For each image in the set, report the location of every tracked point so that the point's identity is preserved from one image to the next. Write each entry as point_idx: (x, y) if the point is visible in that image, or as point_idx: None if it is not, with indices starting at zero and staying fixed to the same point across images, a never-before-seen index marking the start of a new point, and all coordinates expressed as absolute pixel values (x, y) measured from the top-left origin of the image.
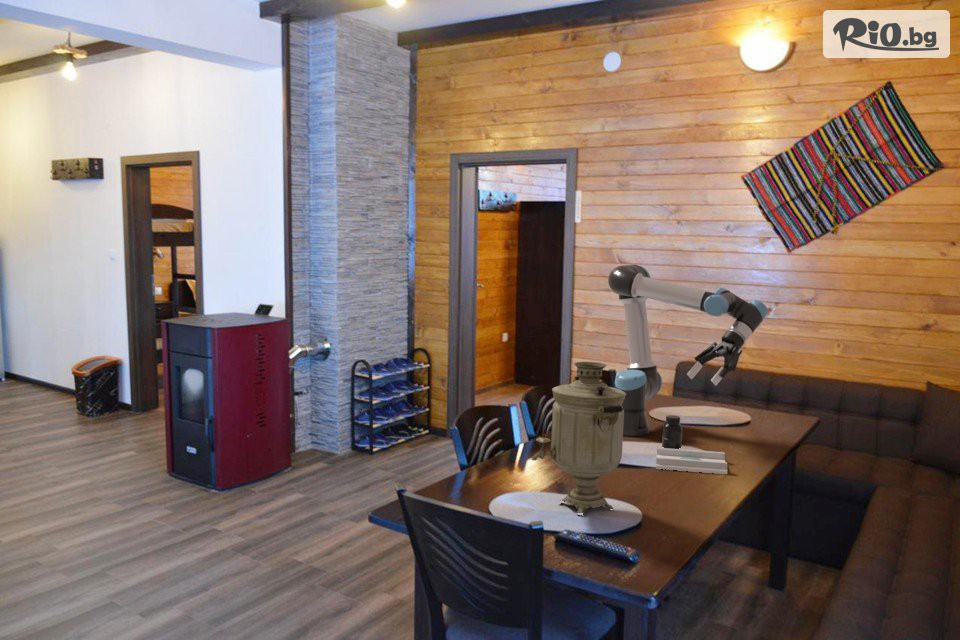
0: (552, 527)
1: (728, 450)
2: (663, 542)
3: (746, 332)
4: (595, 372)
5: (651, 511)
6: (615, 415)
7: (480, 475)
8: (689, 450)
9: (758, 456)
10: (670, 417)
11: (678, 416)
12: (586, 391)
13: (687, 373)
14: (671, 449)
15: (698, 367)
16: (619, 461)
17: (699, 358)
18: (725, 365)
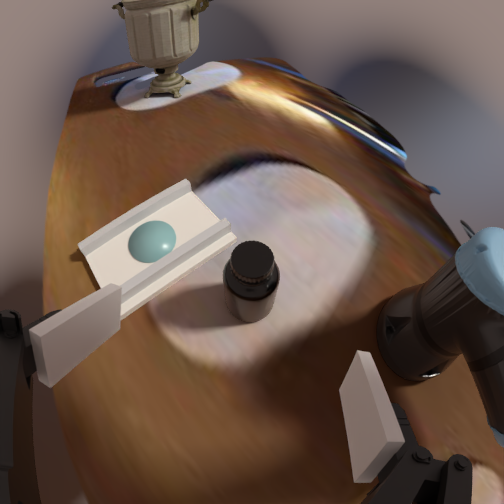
0: None
1: (157, 407)
2: (88, 98)
3: None
4: None
5: (115, 113)
6: (121, 12)
7: (296, 81)
8: (169, 258)
9: (87, 409)
10: (250, 245)
11: (245, 274)
12: None
13: (369, 355)
14: (201, 235)
15: (360, 438)
16: (131, 56)
17: (418, 473)
18: (3, 315)
